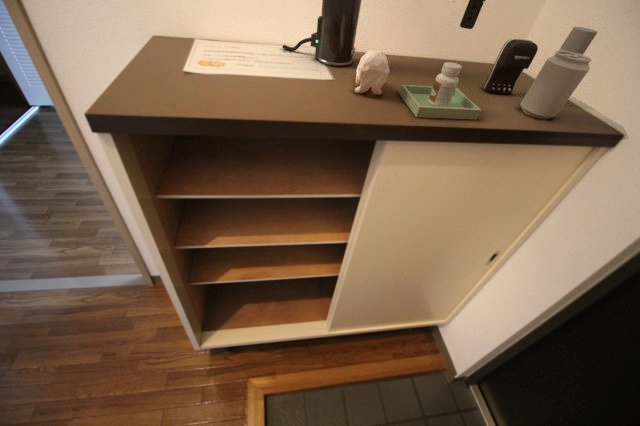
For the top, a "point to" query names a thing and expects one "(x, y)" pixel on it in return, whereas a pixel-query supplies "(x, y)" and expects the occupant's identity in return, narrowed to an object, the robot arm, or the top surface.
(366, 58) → the white bear figurine
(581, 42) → the container
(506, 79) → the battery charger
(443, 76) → the pill bottle
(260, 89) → the top surface
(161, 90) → the top surface
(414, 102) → the tray
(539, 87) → the can
